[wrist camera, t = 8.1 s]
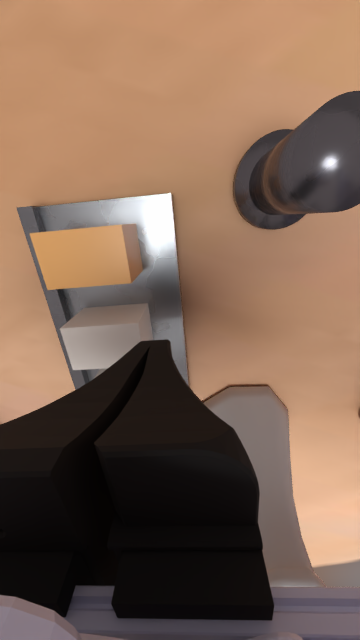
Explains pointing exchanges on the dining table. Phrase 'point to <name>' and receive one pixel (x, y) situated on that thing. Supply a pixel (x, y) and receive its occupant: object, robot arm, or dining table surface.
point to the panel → (149, 287)
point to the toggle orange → (88, 256)
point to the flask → (269, 479)
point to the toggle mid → (105, 334)
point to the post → (303, 167)
